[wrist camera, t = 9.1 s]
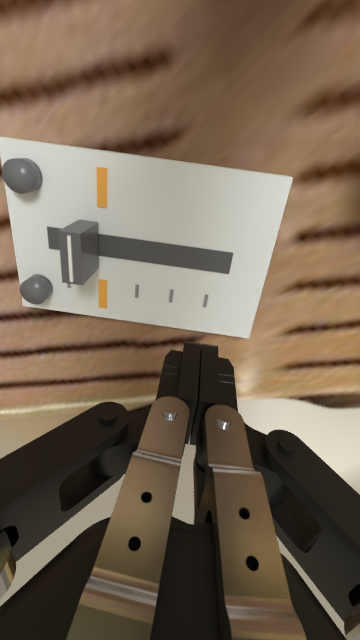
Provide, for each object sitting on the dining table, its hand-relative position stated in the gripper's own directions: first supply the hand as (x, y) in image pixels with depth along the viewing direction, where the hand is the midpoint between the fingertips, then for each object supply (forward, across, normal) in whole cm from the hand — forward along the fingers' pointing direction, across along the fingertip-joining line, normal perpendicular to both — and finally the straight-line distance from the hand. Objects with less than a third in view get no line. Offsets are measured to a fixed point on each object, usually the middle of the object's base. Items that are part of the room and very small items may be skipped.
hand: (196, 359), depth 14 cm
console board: (+23, +7, +3) cm, 24 cm away
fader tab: (+20, +12, +3) cm, 24 cm away
